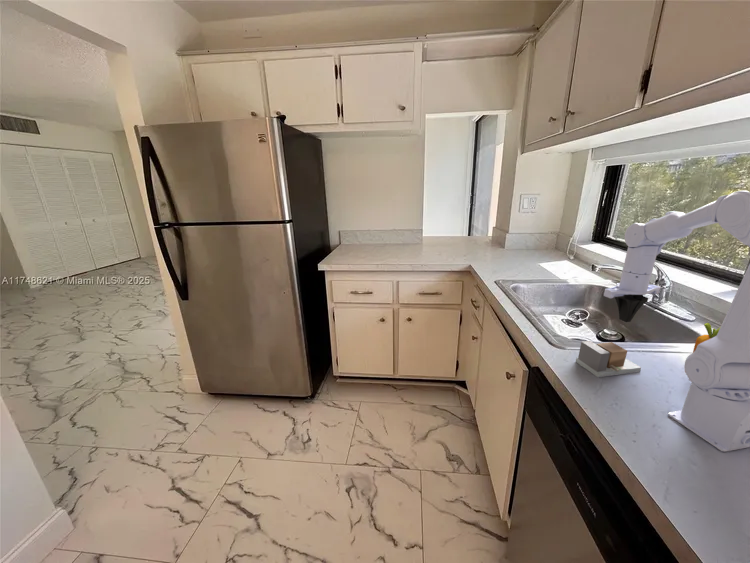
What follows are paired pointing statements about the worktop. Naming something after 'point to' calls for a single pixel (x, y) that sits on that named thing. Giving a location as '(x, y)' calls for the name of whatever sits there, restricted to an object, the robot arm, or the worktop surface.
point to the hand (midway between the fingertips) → (624, 320)
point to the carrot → (706, 337)
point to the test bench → (609, 372)
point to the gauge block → (614, 355)
